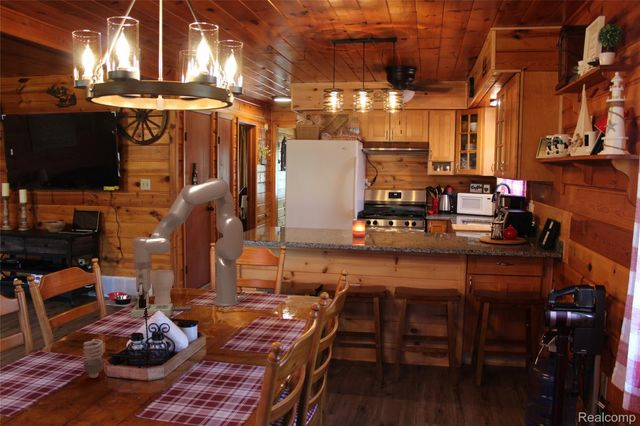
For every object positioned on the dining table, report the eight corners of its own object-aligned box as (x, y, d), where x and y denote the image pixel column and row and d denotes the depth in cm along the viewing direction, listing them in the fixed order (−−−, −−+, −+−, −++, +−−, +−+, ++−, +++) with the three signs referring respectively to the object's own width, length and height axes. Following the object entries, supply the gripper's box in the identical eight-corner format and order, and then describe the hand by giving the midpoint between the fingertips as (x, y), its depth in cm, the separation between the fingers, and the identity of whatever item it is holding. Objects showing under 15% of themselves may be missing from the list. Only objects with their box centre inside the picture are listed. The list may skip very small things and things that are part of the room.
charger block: (148, 307, 231) (148, 291, 230) (147, 309, 227) (147, 293, 226) (139, 307, 230) (139, 291, 230) (137, 310, 226) (137, 293, 226)
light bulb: (98, 373, 161) (97, 335, 160) (107, 378, 158) (106, 339, 157) (80, 378, 157) (79, 339, 156) (89, 383, 154) (88, 344, 153)
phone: (192, 309, 239) (192, 306, 239) (191, 311, 234) (191, 308, 234) (174, 309, 238) (174, 306, 238) (173, 312, 233) (172, 309, 233)
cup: (149, 301, 250) (149, 270, 249) (172, 299, 254) (171, 268, 253) (152, 306, 240) (152, 274, 239) (175, 304, 245) (175, 272, 244)
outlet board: (172, 308, 237) (172, 302, 236) (169, 316, 225) (169, 309, 225) (136, 309, 234) (136, 303, 234) (131, 317, 222) (131, 310, 222)
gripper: (148, 268, 219) (149, 311, 221) (154, 261, 236) (154, 301, 237) (130, 269, 218) (130, 312, 220) (137, 262, 235) (137, 302, 236)
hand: (143, 306), depth 228 cm, fingers closed on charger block, 3 cm apart
